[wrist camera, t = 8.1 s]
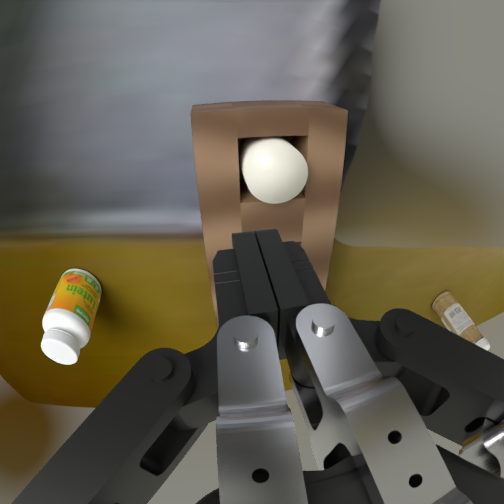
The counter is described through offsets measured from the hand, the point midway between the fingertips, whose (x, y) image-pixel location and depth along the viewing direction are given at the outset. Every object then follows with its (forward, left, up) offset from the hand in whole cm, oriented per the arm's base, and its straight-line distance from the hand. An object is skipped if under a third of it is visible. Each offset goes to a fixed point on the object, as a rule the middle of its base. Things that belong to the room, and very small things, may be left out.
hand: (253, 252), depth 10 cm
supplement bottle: (+21, -6, -17) cm, 28 cm away
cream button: (-1, +4, -15) cm, 16 cm away
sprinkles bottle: (+1, +45, -17) cm, 48 cm away
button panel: (+6, +9, -17) cm, 20 cm away
